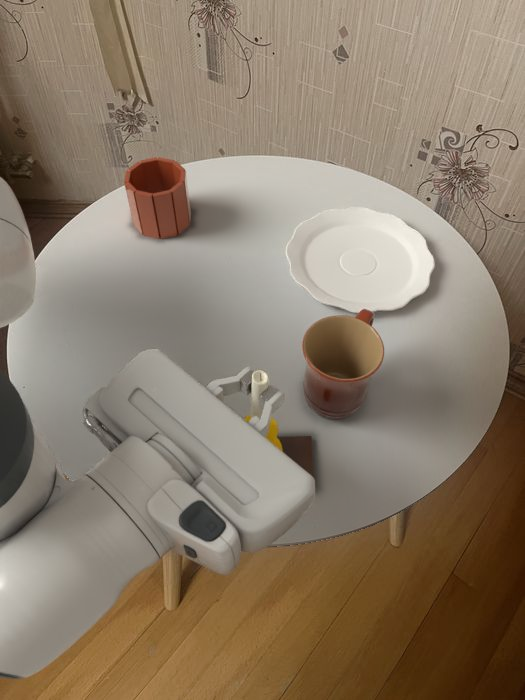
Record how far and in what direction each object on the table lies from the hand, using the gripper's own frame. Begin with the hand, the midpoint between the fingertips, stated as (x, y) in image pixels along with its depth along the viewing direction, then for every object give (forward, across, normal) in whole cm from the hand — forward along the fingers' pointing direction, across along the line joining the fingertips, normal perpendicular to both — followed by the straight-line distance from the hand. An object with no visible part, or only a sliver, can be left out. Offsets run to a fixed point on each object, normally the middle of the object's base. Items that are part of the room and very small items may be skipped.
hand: (266, 383), depth 51 cm
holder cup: (+19, -38, -16) cm, 46 cm away
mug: (+13, 0, -16) cm, 21 cm away
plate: (+32, -10, -16) cm, 37 cm away
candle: (-1, 0, -13) cm, 13 cm away
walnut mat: (-1, 0, -16) cm, 16 cm away
